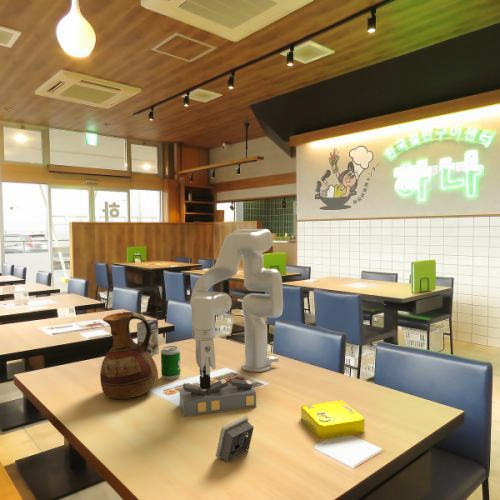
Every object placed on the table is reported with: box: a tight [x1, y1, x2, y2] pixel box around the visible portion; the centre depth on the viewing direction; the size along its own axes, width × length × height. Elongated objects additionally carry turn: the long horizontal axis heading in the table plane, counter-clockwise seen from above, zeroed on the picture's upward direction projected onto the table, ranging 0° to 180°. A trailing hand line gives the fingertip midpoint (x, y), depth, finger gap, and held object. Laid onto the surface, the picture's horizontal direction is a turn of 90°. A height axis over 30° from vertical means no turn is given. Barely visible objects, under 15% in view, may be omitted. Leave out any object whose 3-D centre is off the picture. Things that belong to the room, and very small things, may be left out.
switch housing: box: [179, 383, 257, 418], centre depth 142 cm, size 24×10×6 cm, turn 107°
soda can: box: [160, 345, 181, 381], centre depth 170 cm, size 8×8×12 cm
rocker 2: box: [206, 378, 229, 395], centre depth 142 cm, size 7×4×1 cm, turn 106°
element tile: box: [300, 400, 365, 440], centre depth 128 cm, size 15×15×5 cm
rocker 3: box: [229, 378, 253, 388], centre depth 145 cm, size 7×4×1 cm, turn 107°
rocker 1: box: [182, 382, 206, 395], centre depth 140 cm, size 7×4×1 cm, turn 107°
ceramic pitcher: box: [99, 311, 159, 400], centre depth 154 cm, size 20×20×30 cm
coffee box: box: [136, 319, 160, 357], centre depth 202 cm, size 9×6×16 cm
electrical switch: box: [215, 416, 255, 464], centre depth 111 cm, size 9×5×9 cm, turn 136°
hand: (205, 387), depth 141 cm, fingers closed
